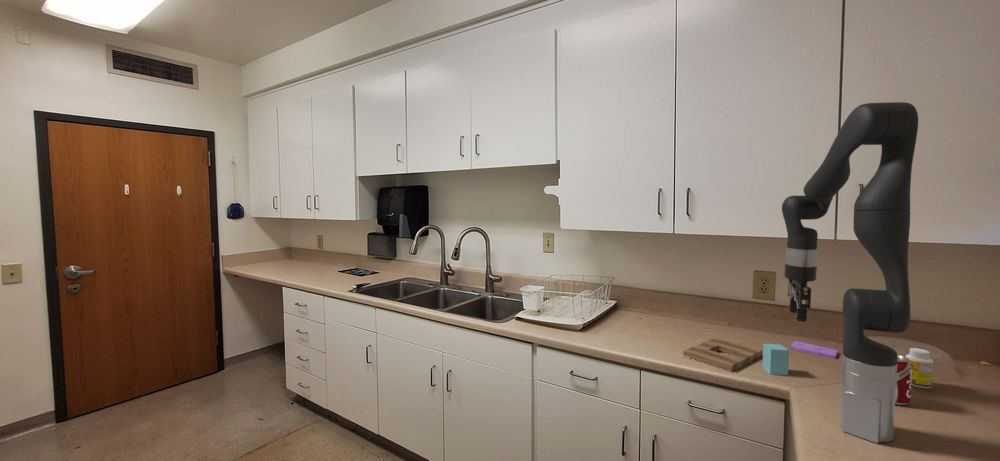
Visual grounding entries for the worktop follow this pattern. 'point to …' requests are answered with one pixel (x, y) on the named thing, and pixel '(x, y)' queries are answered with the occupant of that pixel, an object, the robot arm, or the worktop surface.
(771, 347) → the teal block
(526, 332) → the worktop surface
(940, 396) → the worktop surface
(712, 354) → the socket board
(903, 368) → the soda can
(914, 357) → the supplement bottle
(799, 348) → the sponges
